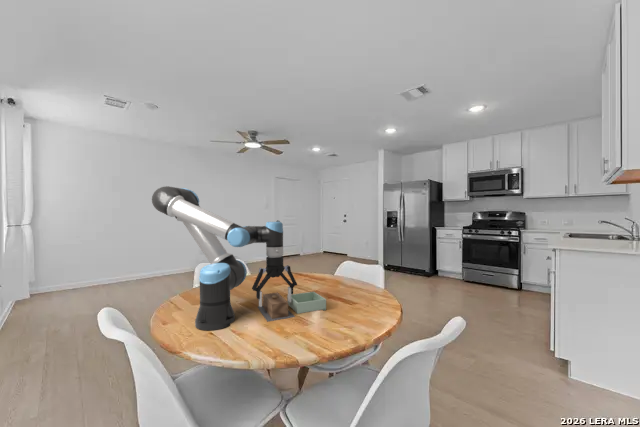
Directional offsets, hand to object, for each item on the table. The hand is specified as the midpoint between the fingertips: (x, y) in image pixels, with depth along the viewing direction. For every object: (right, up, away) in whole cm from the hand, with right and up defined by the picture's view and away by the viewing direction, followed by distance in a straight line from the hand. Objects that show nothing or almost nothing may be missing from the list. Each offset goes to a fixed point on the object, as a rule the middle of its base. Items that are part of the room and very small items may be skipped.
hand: (275, 303), depth 122 cm
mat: (0, -4, 0) cm, 4 cm away
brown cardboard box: (0, -3, 0) cm, 3 cm away
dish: (+14, -4, +6) cm, 15 cm away
